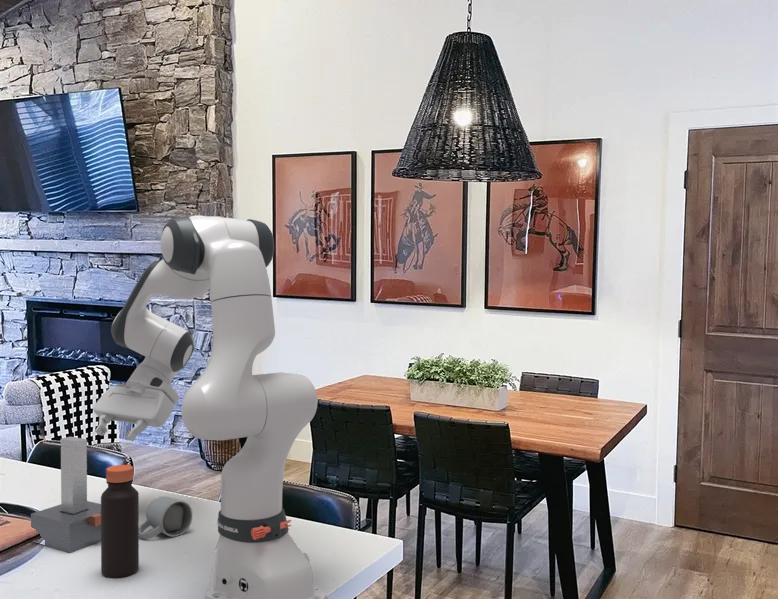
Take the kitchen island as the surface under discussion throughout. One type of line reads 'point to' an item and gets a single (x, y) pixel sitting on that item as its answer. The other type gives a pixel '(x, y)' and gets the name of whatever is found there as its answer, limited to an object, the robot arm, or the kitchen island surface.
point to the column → (73, 475)
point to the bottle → (119, 523)
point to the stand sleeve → (68, 527)
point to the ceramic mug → (166, 518)
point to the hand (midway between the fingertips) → (113, 436)
